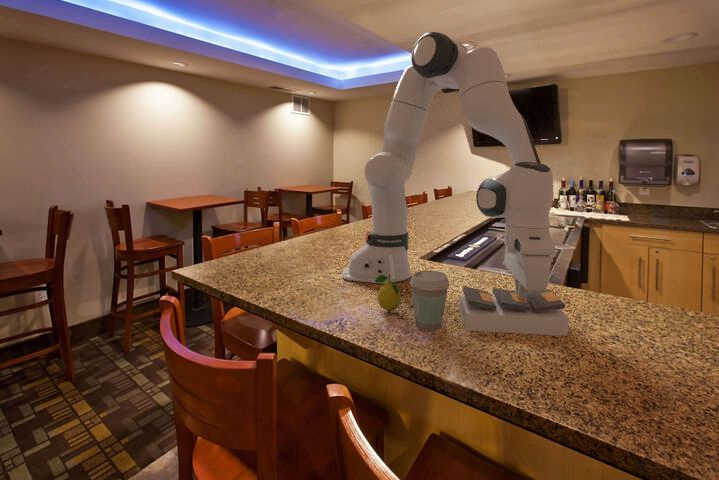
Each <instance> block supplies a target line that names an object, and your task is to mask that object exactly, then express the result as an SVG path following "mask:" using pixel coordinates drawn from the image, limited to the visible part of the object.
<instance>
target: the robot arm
mask: <svg viewBox="0 0 719 480" xmlns="http://www.w3.org/2000/svg"><path fill="white" fill-rule="evenodd" d="M412 48H413V49H412V52H411V58H410V59H411V64H410V65H408V66H407V67H406V68H404V71H403V73H402V75H401V77H400V78H399V80H398V82H397V85H396V88H395V90H394V92H393V97H392V101H391V103H390V106H389V109H388V113H387V116H386V119H385V124H384V128H383V130H384V131H383V132H384V135H383V141H382V142H383V143H382V148H381V149H382V150H381V152H378V153H376V154H374V155H373V156H371V157H370V158H369V160H368V161H366V164H365V167H364V178H365V180H366V181H367V185H368V191H369V192H368V193H369V197H370V198H369V199H370V202H371V211H372V212H371V213H372V215H371V217H372V218H371V220H372V223H371V224H372V225H371V226H372V227H371V228H372V229H371V230H368V231H367V232H366V233H365V244H364V245H362V246H361V247H360V248H358V249H357V250H356V251H355V252H354V253H352V254H351V257H350V260H349V263H348V266H347V267H345V268H344V269H343V270H342V273H341V274H342V275H341V276H342V277H341V278H342V279H343V278H344V279H343V280H345V279H346V280H345V281H352V280H353V282H363V283H371V284H372V283H374V284H378V283H377V282H375V281H376V279H377V277H378V276H380V275H384V276H386V277H388V279H387V281H385V282H380V283H379V284H381V285H382V284H383V285H384V284H387V283H388V282H389V274H390V282H393V283H397V282H401V281H405V280H408V279H410V278H412V276H413V273H412V271H411V267H410V266H411V265H410V261H409V253H408V250H409V244H410V235H409V232H408V212H409V211H408V205H407V199H406V192H405V184H406V183H407V182H409V180H410V178H411V176H412V173H413V169H414V165H415V161H416V157H417V153H418V148H419V144H420V139H421V135H422V133H423V129H424V127H425V124H426V120H427V116H428V114H429V110H430V108H431V104H432V101H433V99H434V96H435V95H436V94H437V93H438V92H439V91H441V92H443V94H449V93H458V92H459V98H460V106H461V112H462V115H463V117H464V119H465V121H466V123H467V124H468V125H469V126H470V127H471V128H472V129H474V130H475V131H477V132H479V133H482V134H484V135H486V136H487V135H488V136H489V137H492V138H494V139H496V140H498V141H499V142H501V143H502V145H504V146H505V148H506V149H507V150H508V153H509V155H510V158H511V159H510V160H511V162H512V165H511V167H510V168H509V169H508V170H506V171H505V172H503V173H500V174H499V175H495V176H493V177H489V178H486V179H484V180H482V182H481V183H480V184H479V186H478V188H477V191H476V195H475V196H476V200H475V201H476V206H477V208H478V209H479V211H480V213H481V214H482V215H483V216H485V217H488V218H494V219H495V218H498V219H499V218H505V225H504V226H505V227H504V234H503V235H504V238H503V245H504V246H505V252H504V258H503V259H504V261H503V262H504V266H505V267H506V268H507V270H508V271H509V272H510V273H511V274H512V276H513V277H514V279H513V280H514V286H515V290H514V291H515V294H516V295H517V297H518V298H519V299H521V300H525V299H527V292H544V291H545V290H546V289H548V285H549V280H550V275H551V267H552V258H551V256H554V255H555V251H556V247H555V246H556V245H555V243H554V242H553V241H552V237H551V234H550V233H551V232H550V228H551V223H550V218H549V217H550V211H551V209H552V206H553V200H554V179H553V178H554V175H553V172H552V169H551V168H550V167H549V166H548V165H546V164H544V163H541V160H540V157H539V154H538V152H537V151H538V150H537V149H536V145H535V143H534V140H533V136H532V134H531V131H530V128H529V126H528V123H527V121H526V119H525V118H524V116H523V115H522V114H521V113H520V112H519V111H518V109H517V107H516V106H515V104H514V102H513V100H512V98H511V96H510V91H509V88H508V83H507V80H506V75H505V71H504V68H503V65H502V62H501V60H500V57H499V55H498V54H497V52H496V51H495V50H494V49H493V48H491V47H489V46H479V47H475V48H473V49H471V50H470V49H469V48H468V47H467V46H465V45H464V44H463V43H462V42H460V41H457V40H454V39H452V38H451V37H449V36H448V35H446V34H444V33H442V32H439V31H429V32H426V33H424V34H422V35H421V36H420V37H419V38H418V40H417V41H416V42H415V44H414V46H413V47H412Z"/></svg>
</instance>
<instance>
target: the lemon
mask: <svg viewBox="0 0 719 480" xmlns="http://www.w3.org/2000/svg"><path fill="white" fill-rule="evenodd" d="M387 279H388V277H386V276H384V275H380V276H378V277H377V279H376V281H375V282H377V283H376V284H381V283H380V282H385V281H387ZM379 288H380V289H379V290H378V296H377V300H378V304H379V306H380V307H381V308H382V309H383V310H385V311H386V312H388V313H392V311H394V310H397V309H398V307H400V305H401V300H402V299H401V297H403V295H402V293H401V291H400V288H399V287H398V286H397V284H396V282H394V283H393V282H390V274H389V282H388V283H387V284H383V285H382V286H381V287H379Z"/></svg>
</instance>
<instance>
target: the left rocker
mask: <svg viewBox="0 0 719 480" xmlns="http://www.w3.org/2000/svg"><path fill="white" fill-rule="evenodd" d="M462 292H463V295H465V298H466V300H467V303H468V304H469V305H473V306H477V307H482V308H486V309H490V310H494V311H495V310H496V307H497V306H496V305H495V303H494V301H493V299H492V297H493V296H492V295H491V294H490V293H489V291H487V290H482V289H478V288H474V287H470V286H464V285H463V286H462Z"/></svg>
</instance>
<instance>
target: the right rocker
mask: <svg viewBox="0 0 719 480" xmlns="http://www.w3.org/2000/svg"><path fill="white" fill-rule="evenodd" d="M525 300H526V301H527V302H528V304H529V305H530V306H531V307H532V309H533V310H534V311H535V312H543V311H550V310H557V309H561V310H562V309H564V310H565V309H566V304H565V303H564V302H563V301H562V300H561V299H560V298H559V296H557V295H556V294H555V293H554V292H553V291H552V290H551V289H550V288H546V290H545V291H544V292H527V299H525Z"/></svg>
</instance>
